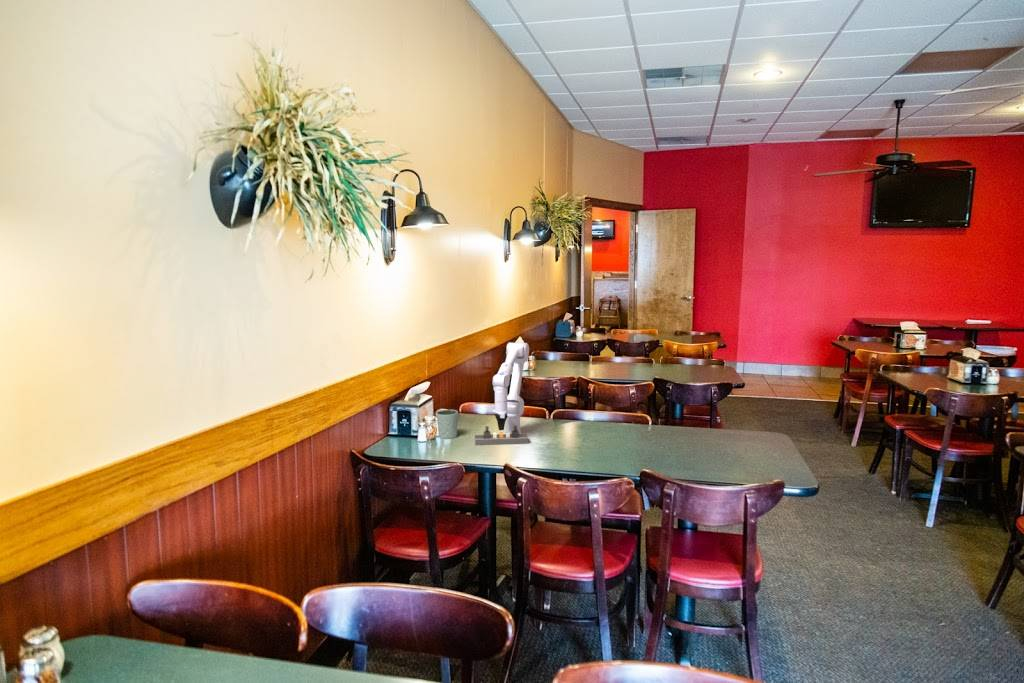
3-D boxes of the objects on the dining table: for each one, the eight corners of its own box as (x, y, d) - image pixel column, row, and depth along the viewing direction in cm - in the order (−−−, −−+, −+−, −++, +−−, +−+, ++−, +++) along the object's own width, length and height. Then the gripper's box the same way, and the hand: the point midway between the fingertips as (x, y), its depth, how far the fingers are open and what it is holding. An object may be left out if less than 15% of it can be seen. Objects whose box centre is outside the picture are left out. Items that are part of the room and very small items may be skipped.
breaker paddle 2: (505, 436, 282) (505, 432, 282) (509, 435, 283) (509, 432, 282) (506, 437, 280) (506, 433, 280) (509, 437, 280) (509, 433, 280)
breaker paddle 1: (492, 436, 282) (492, 432, 282) (496, 436, 282) (496, 432, 282) (493, 437, 279) (493, 434, 279) (496, 437, 280) (496, 433, 279)
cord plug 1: (483, 436, 282) (483, 425, 281) (490, 436, 282) (490, 425, 281) (483, 438, 279) (483, 427, 278) (490, 438, 279) (490, 427, 278)
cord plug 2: (511, 435, 283) (511, 425, 282) (518, 435, 283) (518, 424, 283) (512, 437, 280) (512, 426, 279) (519, 437, 280) (519, 426, 280)
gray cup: (460, 434, 295) (459, 409, 293) (456, 440, 285) (455, 414, 283) (439, 433, 296) (438, 409, 294) (434, 439, 286) (434, 414, 284)
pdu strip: (474, 440, 284) (474, 434, 283) (526, 439, 286) (526, 433, 286) (475, 445, 277) (475, 439, 276) (528, 443, 279) (528, 437, 279)
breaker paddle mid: (499, 436, 282) (499, 432, 282) (502, 436, 282) (502, 432, 282) (499, 437, 280) (499, 433, 279) (503, 437, 280) (503, 433, 280)
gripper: (491, 397, 286) (491, 426, 287) (493, 404, 271) (493, 434, 273) (506, 397, 286) (506, 425, 288) (509, 404, 272) (509, 434, 274)
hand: (501, 429), depth 281 cm, fingers closed
